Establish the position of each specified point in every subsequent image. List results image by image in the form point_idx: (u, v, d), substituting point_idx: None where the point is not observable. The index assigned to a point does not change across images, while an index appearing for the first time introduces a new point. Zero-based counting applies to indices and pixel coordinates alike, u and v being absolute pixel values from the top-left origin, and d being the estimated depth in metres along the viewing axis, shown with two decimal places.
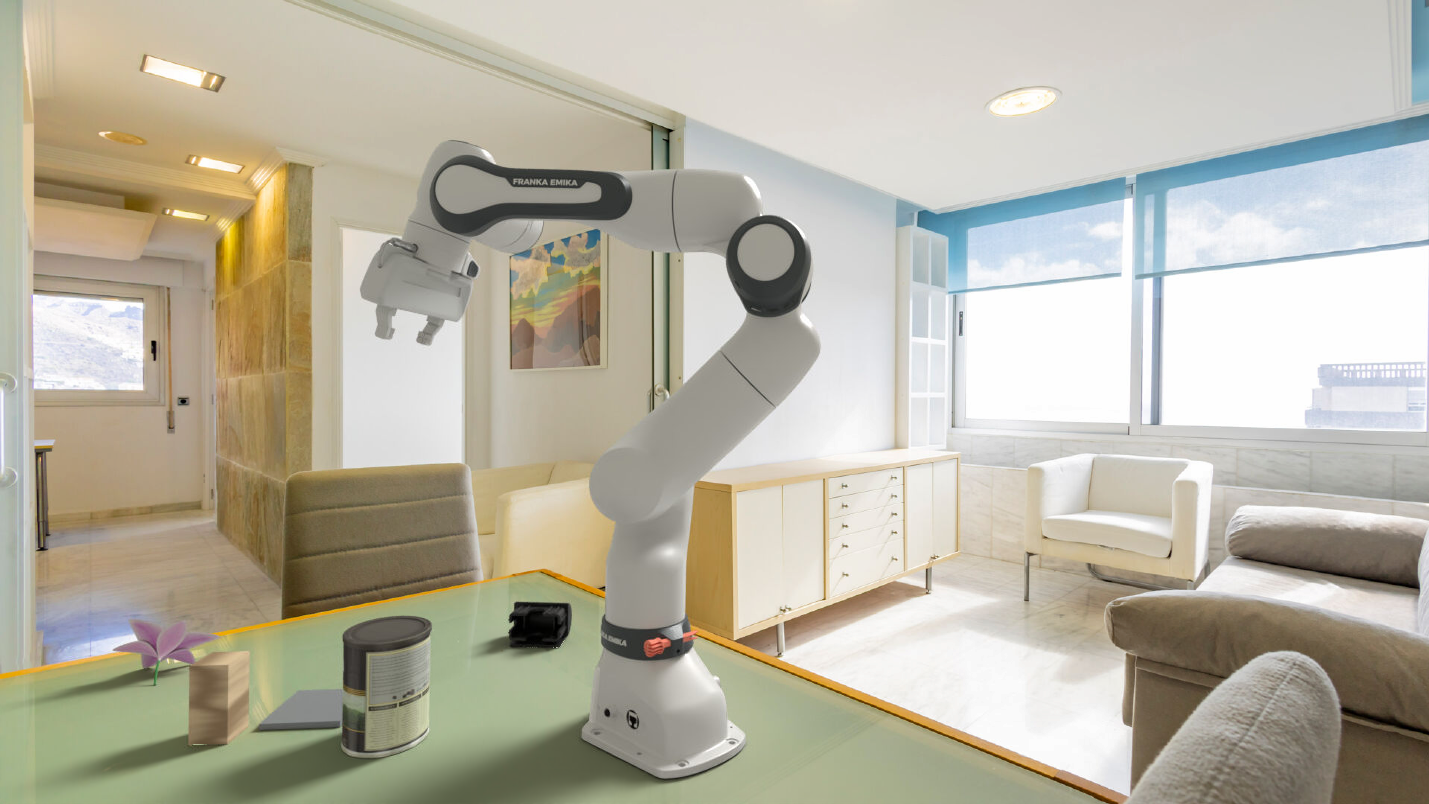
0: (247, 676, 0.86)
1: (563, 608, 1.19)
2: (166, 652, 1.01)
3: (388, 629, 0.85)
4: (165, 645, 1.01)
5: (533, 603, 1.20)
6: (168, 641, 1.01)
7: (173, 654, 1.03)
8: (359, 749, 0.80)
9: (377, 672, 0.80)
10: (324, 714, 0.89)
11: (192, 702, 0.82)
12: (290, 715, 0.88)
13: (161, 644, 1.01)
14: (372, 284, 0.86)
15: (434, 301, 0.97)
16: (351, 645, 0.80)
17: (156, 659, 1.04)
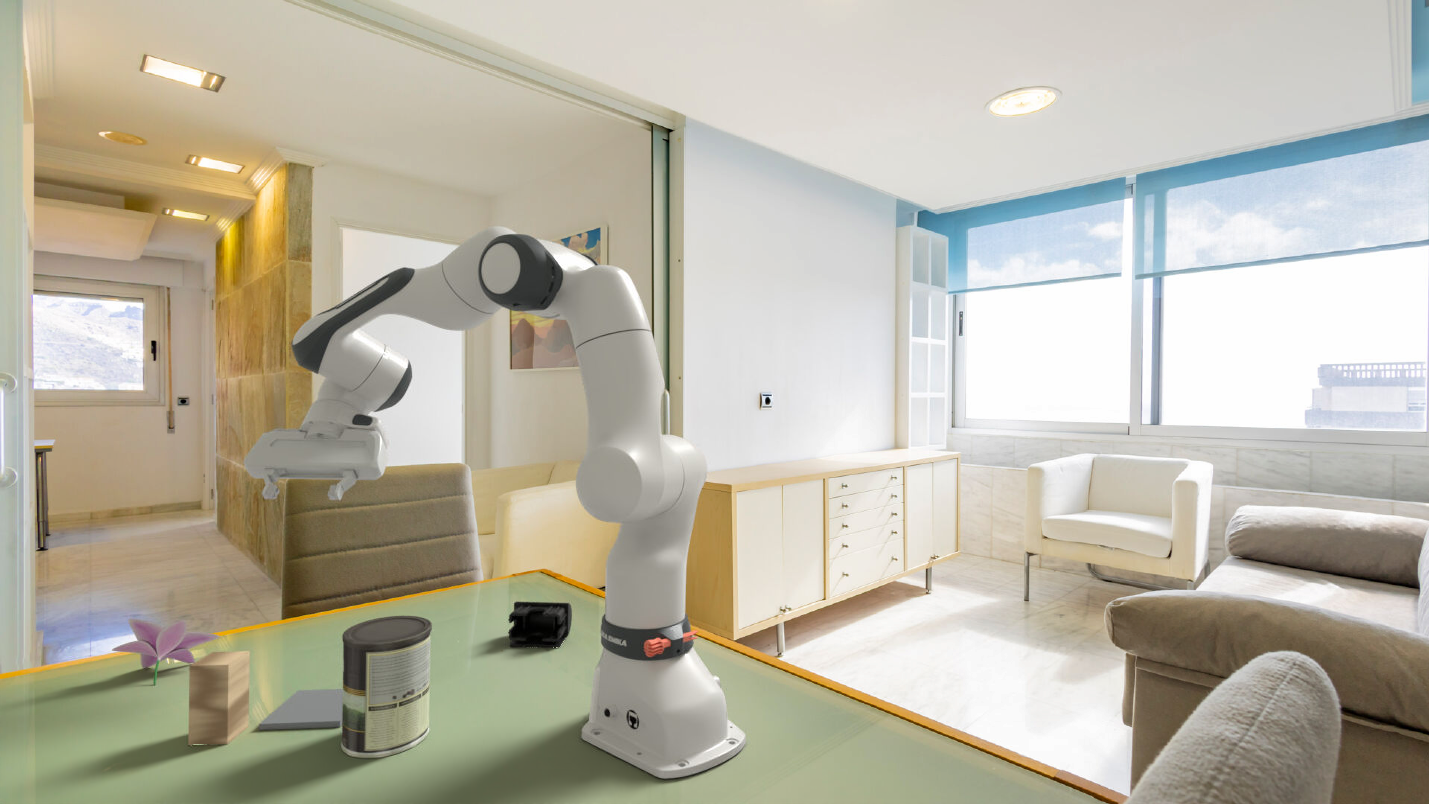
0: (247, 676, 0.86)
1: (563, 608, 1.19)
2: (166, 652, 1.01)
3: (388, 629, 0.85)
4: (165, 645, 1.01)
5: (533, 603, 1.20)
6: (168, 641, 1.01)
7: (173, 654, 1.03)
8: (359, 749, 0.80)
9: (377, 672, 0.80)
10: (324, 714, 0.89)
11: (192, 702, 0.82)
12: (290, 715, 0.88)
13: (161, 644, 1.01)
14: None
15: (322, 455, 1.05)
16: (351, 645, 0.80)
17: (156, 659, 1.04)
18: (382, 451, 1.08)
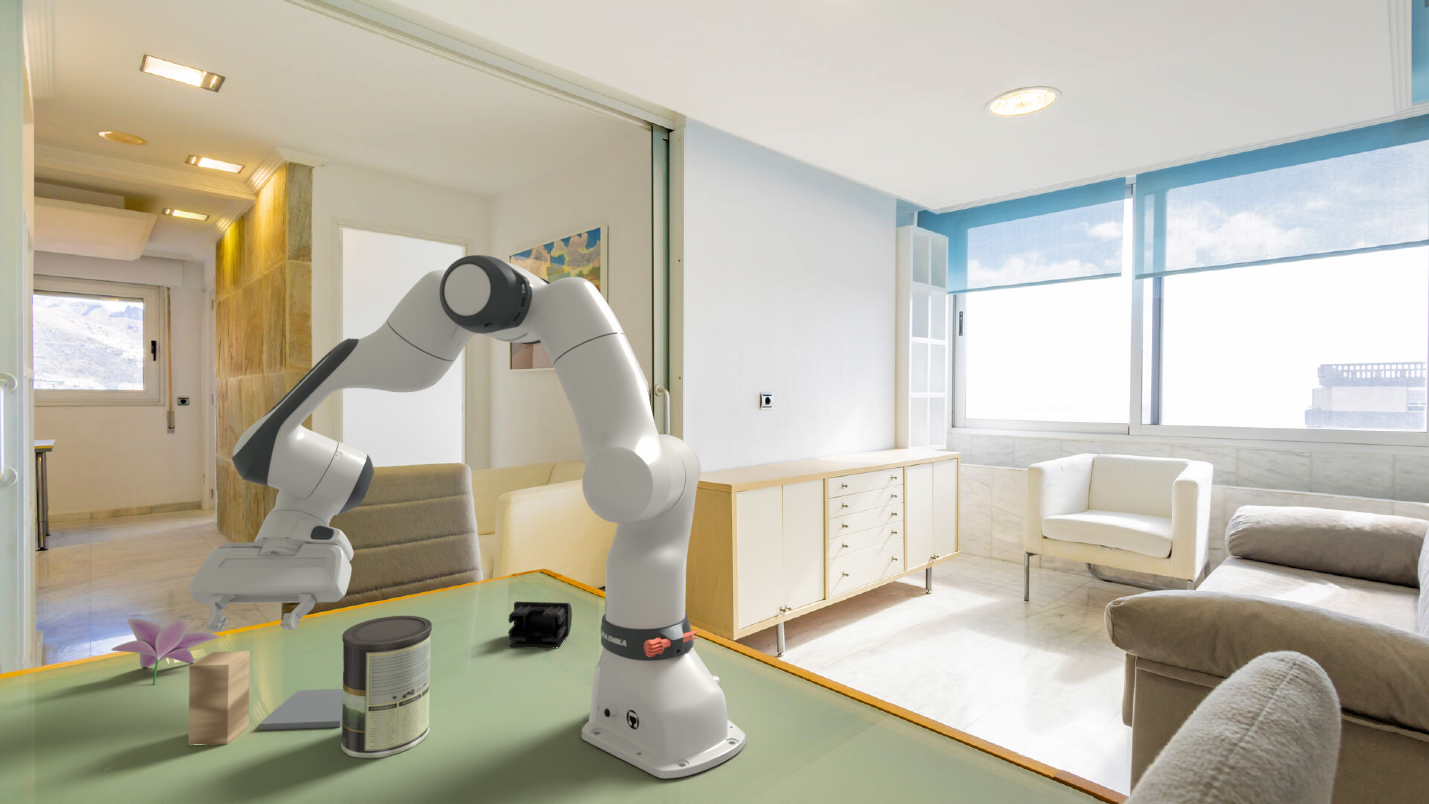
0: (247, 676, 0.86)
1: (563, 608, 1.19)
2: (165, 651, 1.01)
3: (388, 629, 0.85)
4: (164, 644, 1.01)
5: (533, 603, 1.20)
6: (167, 641, 1.01)
7: (172, 653, 1.03)
8: (359, 749, 0.80)
9: (377, 672, 0.80)
10: (324, 714, 0.89)
11: (192, 702, 0.82)
12: (290, 715, 0.88)
13: (160, 643, 1.01)
14: None
15: (276, 577, 0.94)
16: (351, 645, 0.80)
17: (155, 659, 1.04)
18: (344, 569, 0.97)
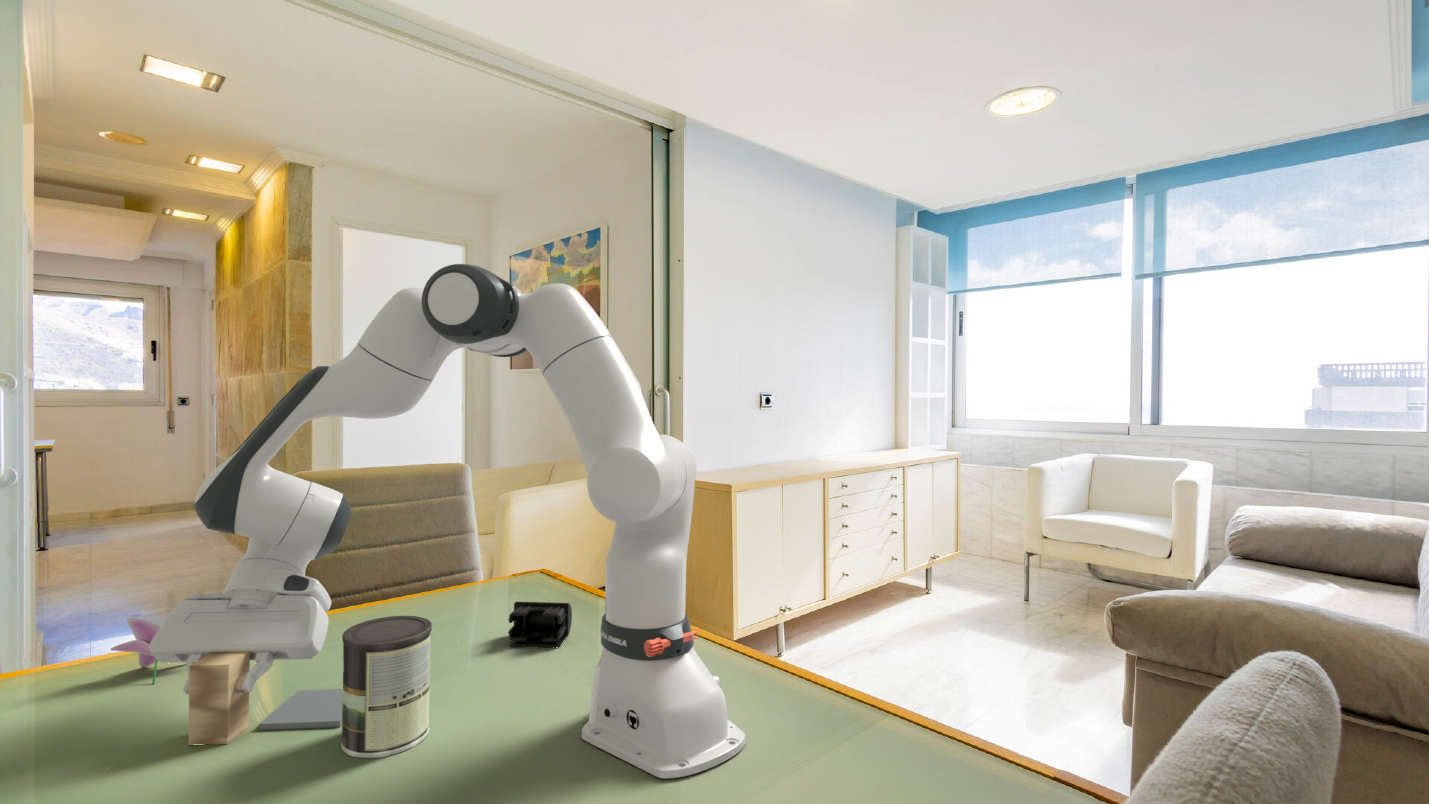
0: None
1: (563, 608, 1.19)
2: None
3: (388, 629, 0.85)
4: None
5: (533, 603, 1.20)
6: None
7: None
8: (359, 749, 0.80)
9: (377, 672, 0.80)
10: (324, 714, 0.89)
11: (192, 701, 0.82)
12: (290, 715, 0.88)
13: None
14: None
15: (245, 633, 0.87)
16: (351, 645, 0.80)
17: (154, 658, 1.04)
18: (319, 622, 0.90)
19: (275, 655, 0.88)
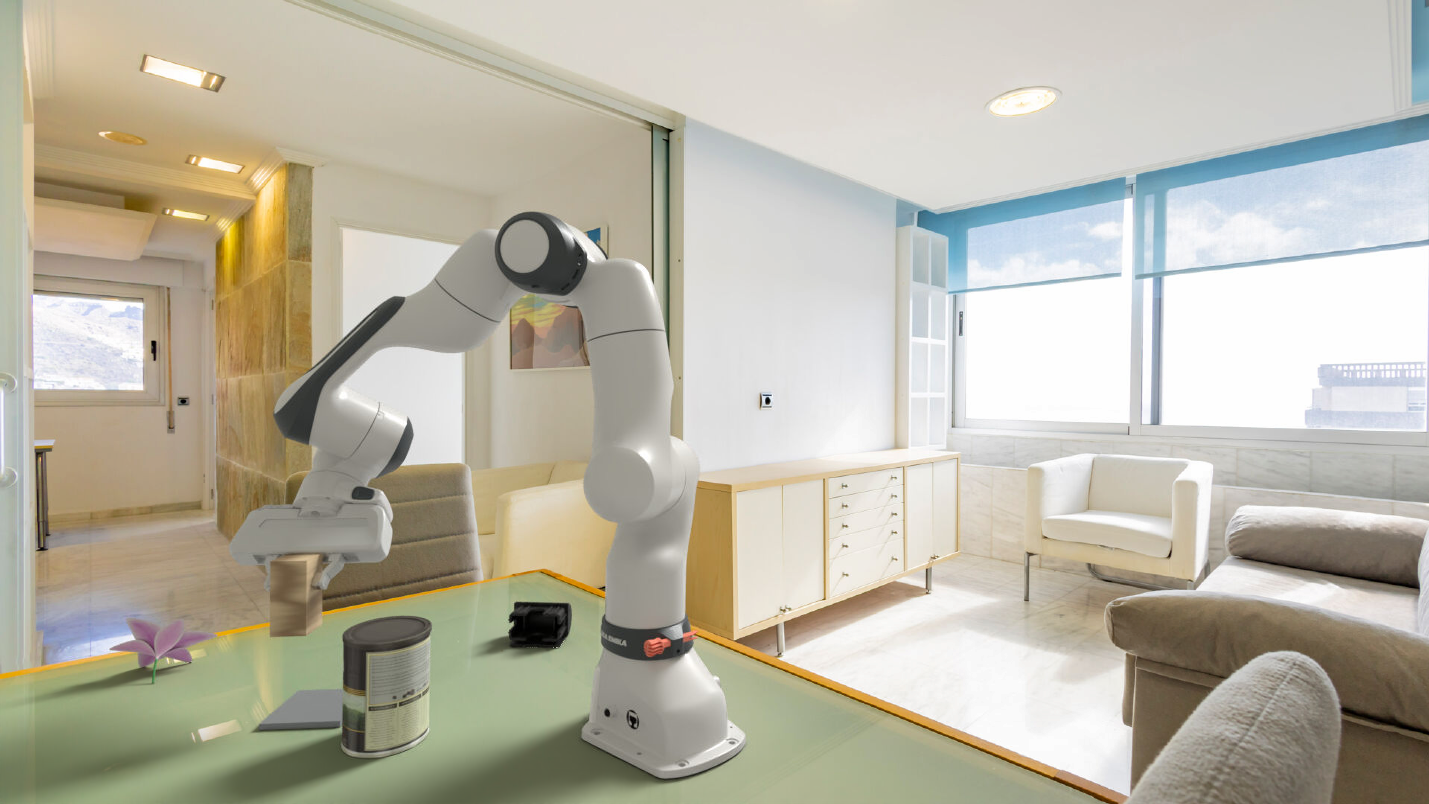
0: None
1: (563, 608, 1.19)
2: (164, 651, 1.01)
3: (388, 629, 0.85)
4: (163, 644, 1.01)
5: (533, 603, 1.20)
6: (166, 640, 1.02)
7: (170, 653, 1.03)
8: (359, 749, 0.80)
9: (377, 672, 0.80)
10: (324, 714, 0.89)
11: (273, 595, 0.87)
12: (290, 715, 0.88)
13: (159, 643, 1.01)
14: None
15: (318, 537, 0.92)
16: (351, 645, 0.80)
17: (153, 658, 1.04)
18: (386, 529, 0.95)
19: (345, 558, 0.93)
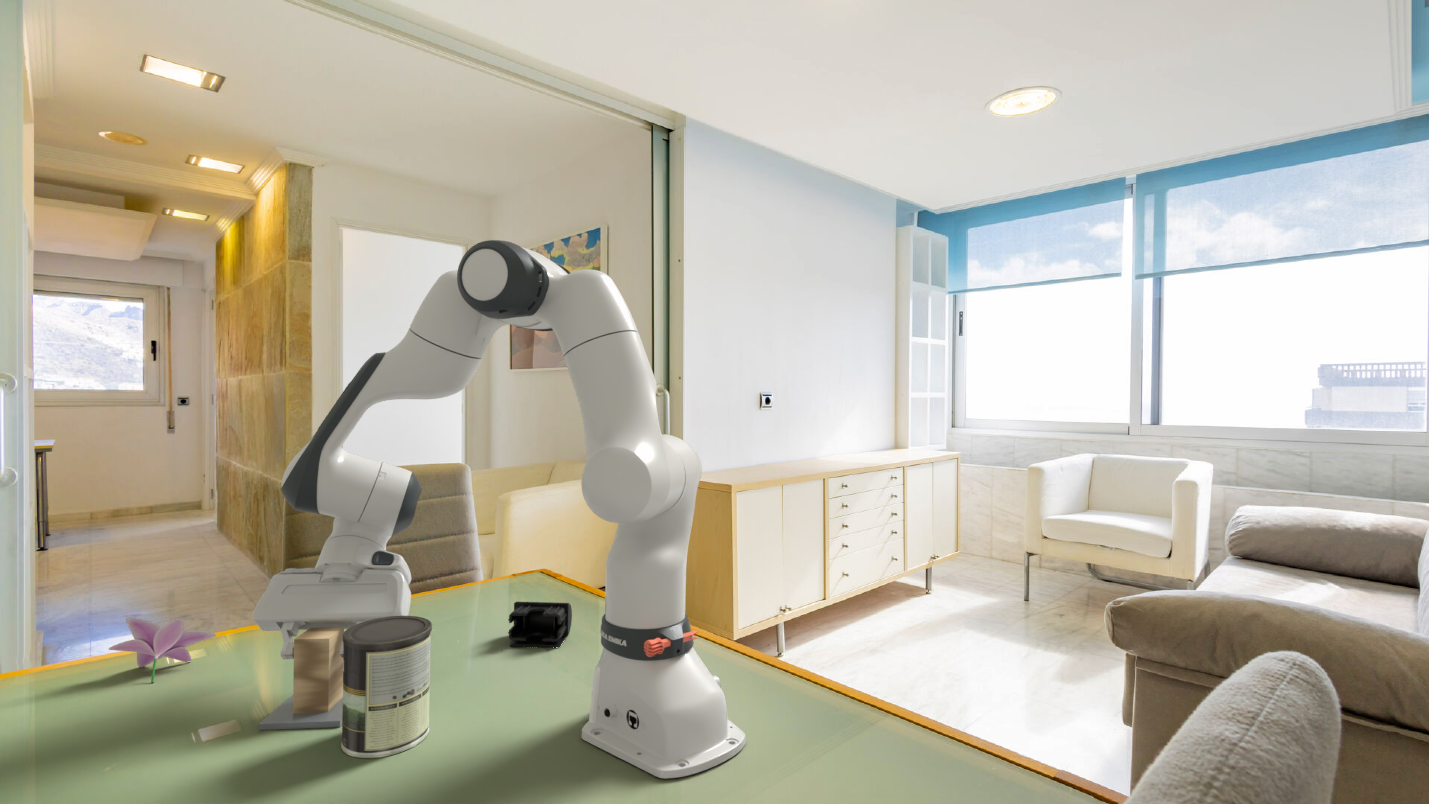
0: None
1: (563, 608, 1.19)
2: (163, 650, 1.02)
3: (388, 629, 0.85)
4: (162, 643, 1.02)
5: (533, 603, 1.20)
6: (165, 640, 1.02)
7: (169, 652, 1.03)
8: (359, 749, 0.80)
9: (377, 672, 0.80)
10: (324, 714, 0.89)
11: (296, 672, 0.89)
12: (290, 715, 0.88)
13: (158, 642, 1.01)
14: None
15: (339, 603, 0.94)
16: (351, 645, 0.80)
17: (152, 658, 1.05)
18: (405, 594, 0.97)
19: None
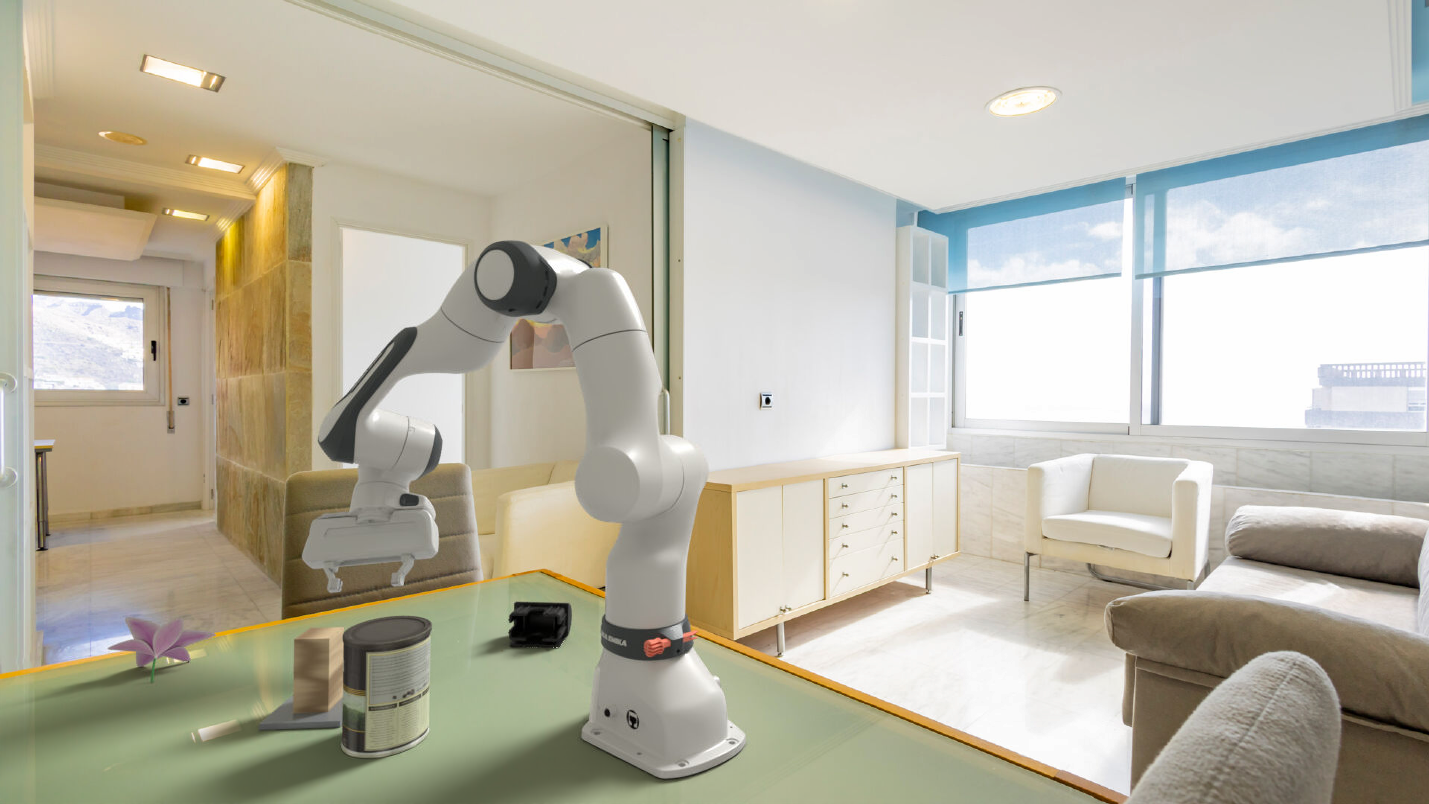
0: (342, 650, 0.93)
1: (563, 608, 1.19)
2: (162, 650, 1.02)
3: (388, 629, 0.85)
4: (161, 643, 1.02)
5: (533, 603, 1.20)
6: (164, 639, 1.02)
7: (169, 652, 1.03)
8: (359, 749, 0.80)
9: (377, 672, 0.80)
10: (324, 714, 0.89)
11: (296, 672, 0.89)
12: (290, 715, 0.88)
13: (157, 642, 1.01)
14: None
15: (377, 542, 1.07)
16: (351, 645, 0.80)
17: (151, 658, 1.05)
18: (434, 530, 1.10)
19: None
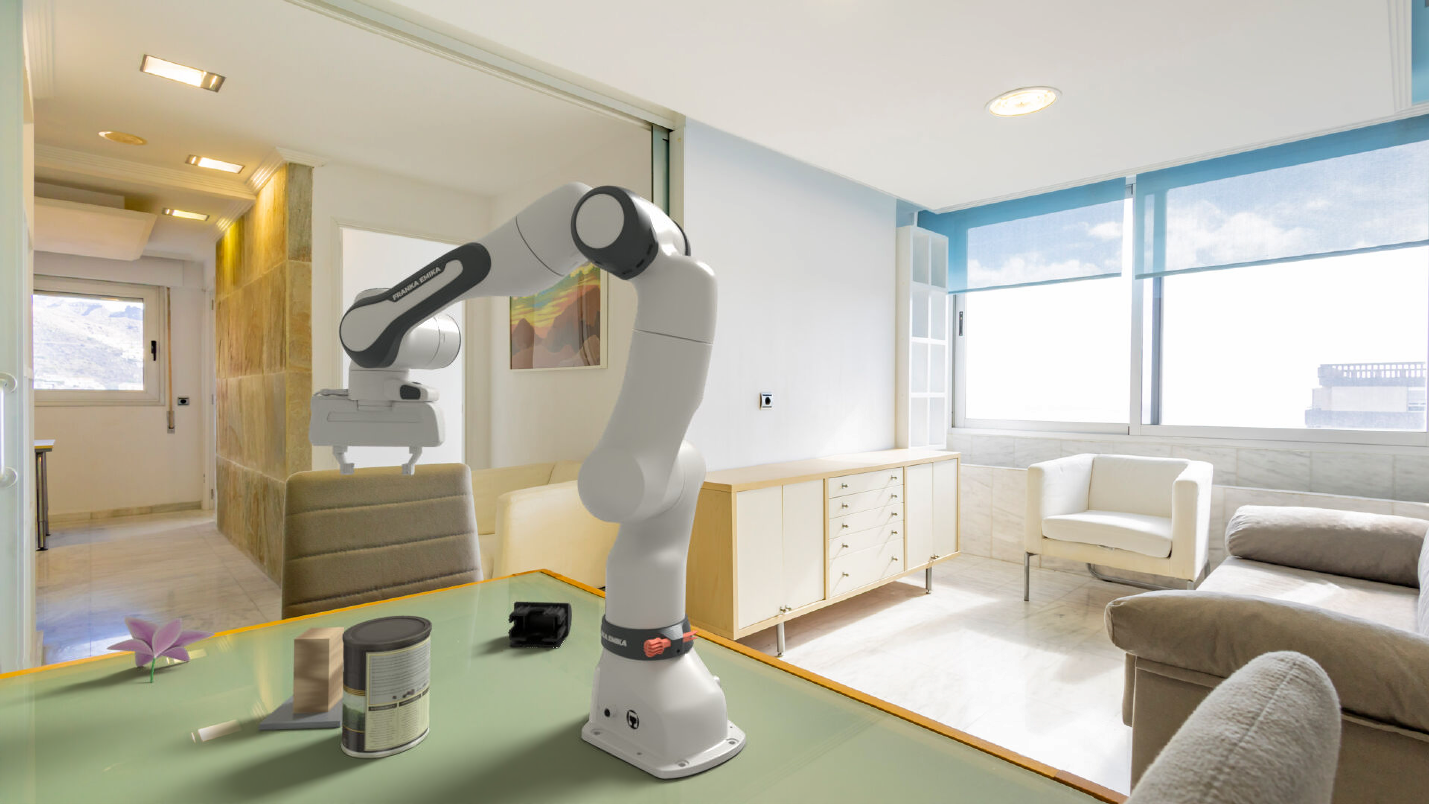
0: (342, 650, 0.93)
1: (563, 608, 1.19)
2: (162, 650, 1.02)
3: (388, 629, 0.85)
4: (161, 643, 1.02)
5: (533, 603, 1.20)
6: (164, 639, 1.02)
7: (168, 652, 1.04)
8: (359, 749, 0.80)
9: (377, 672, 0.80)
10: (324, 714, 0.89)
11: (296, 672, 0.89)
12: (290, 715, 0.88)
13: (157, 642, 1.02)
14: None
15: (382, 432, 1.05)
16: (351, 645, 0.80)
17: (150, 657, 1.05)
18: (439, 422, 1.07)
19: None
